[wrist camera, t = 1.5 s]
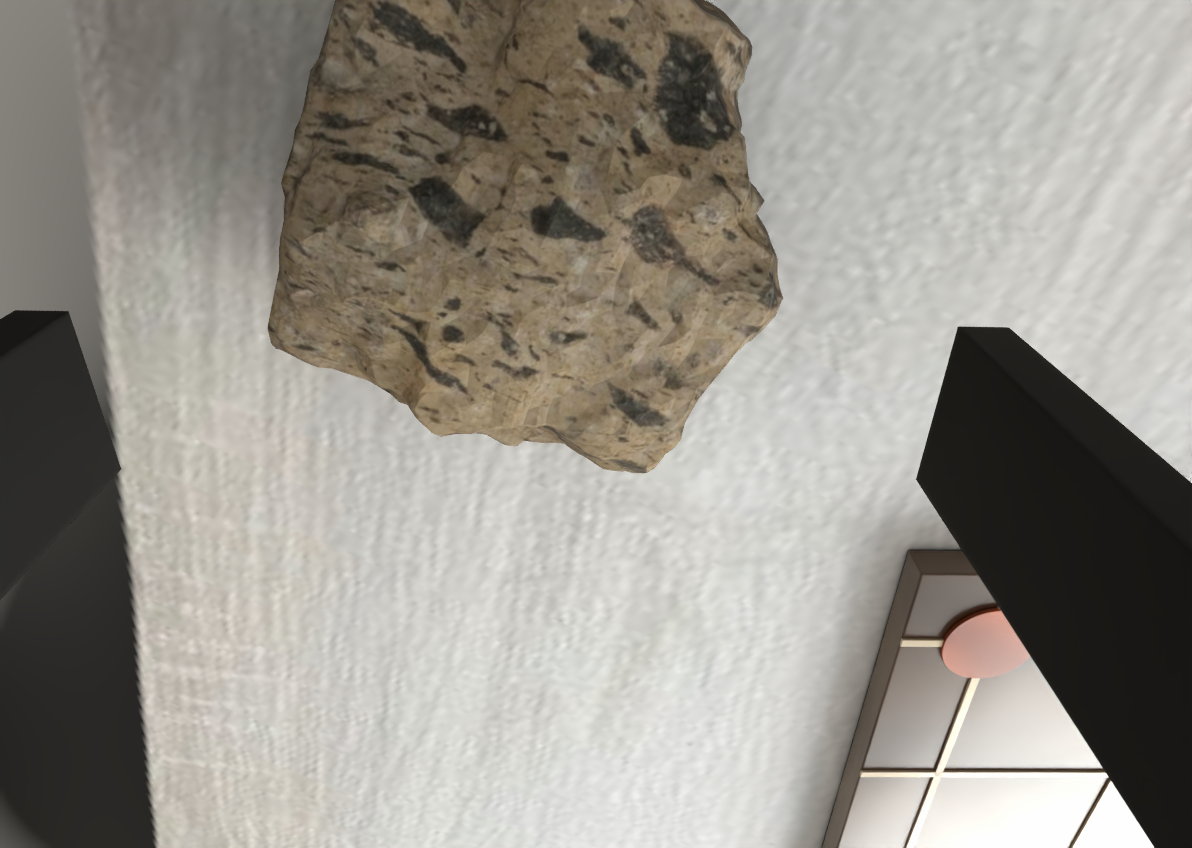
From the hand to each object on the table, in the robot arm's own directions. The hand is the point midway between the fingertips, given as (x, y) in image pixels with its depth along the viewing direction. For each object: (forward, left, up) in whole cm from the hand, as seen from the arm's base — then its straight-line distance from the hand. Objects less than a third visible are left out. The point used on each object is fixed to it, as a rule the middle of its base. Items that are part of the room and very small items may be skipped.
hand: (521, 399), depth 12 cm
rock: (0, 0, -10) cm, 10 cm away
